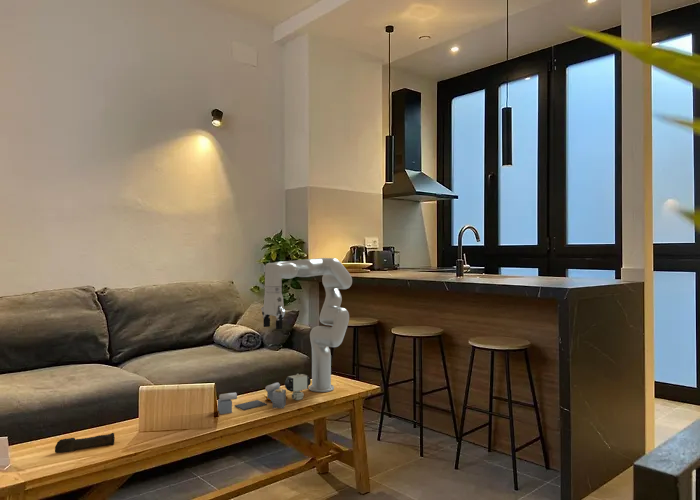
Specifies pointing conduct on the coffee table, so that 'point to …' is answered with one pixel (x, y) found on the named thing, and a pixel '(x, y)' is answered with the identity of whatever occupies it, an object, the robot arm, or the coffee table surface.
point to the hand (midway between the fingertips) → (272, 327)
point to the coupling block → (278, 398)
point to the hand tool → (83, 443)
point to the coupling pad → (250, 405)
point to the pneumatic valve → (297, 385)
